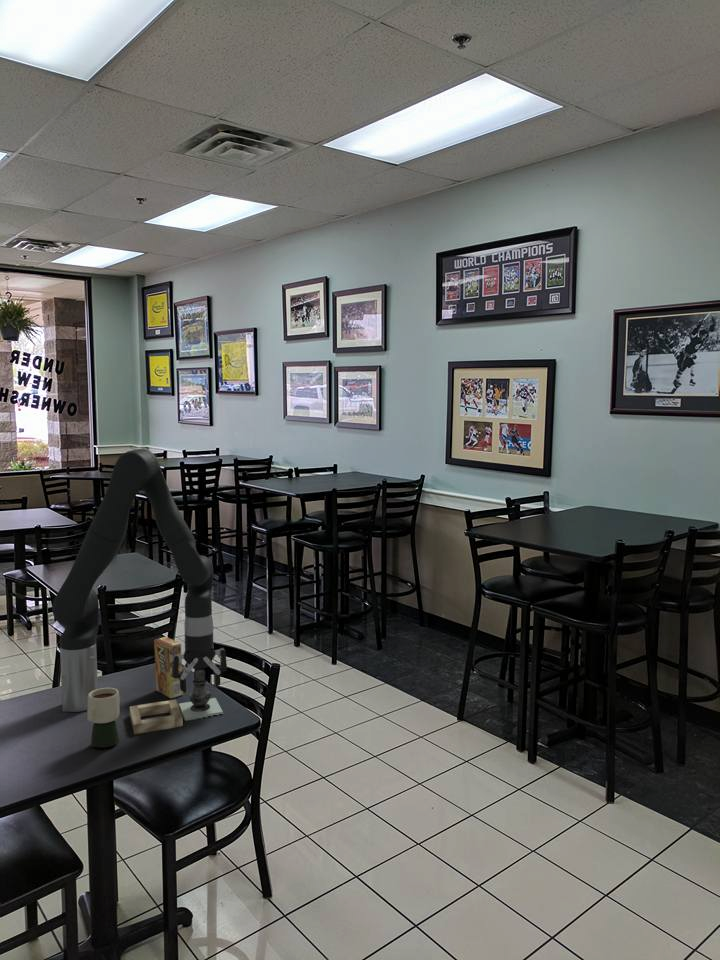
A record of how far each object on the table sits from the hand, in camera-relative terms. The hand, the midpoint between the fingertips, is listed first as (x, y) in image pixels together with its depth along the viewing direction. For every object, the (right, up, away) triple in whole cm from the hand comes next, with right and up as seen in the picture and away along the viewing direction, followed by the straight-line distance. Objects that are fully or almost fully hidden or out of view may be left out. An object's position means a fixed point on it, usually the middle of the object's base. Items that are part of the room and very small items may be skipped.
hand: (200, 689), depth 191 cm
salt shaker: (0, -5, 0) cm, 5 cm away
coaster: (0, -6, +1) cm, 6 cm away
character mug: (-19, -8, -19) cm, 28 cm away
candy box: (-12, -5, +13) cm, 18 cm away
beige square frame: (-10, -7, -6) cm, 14 cm away
